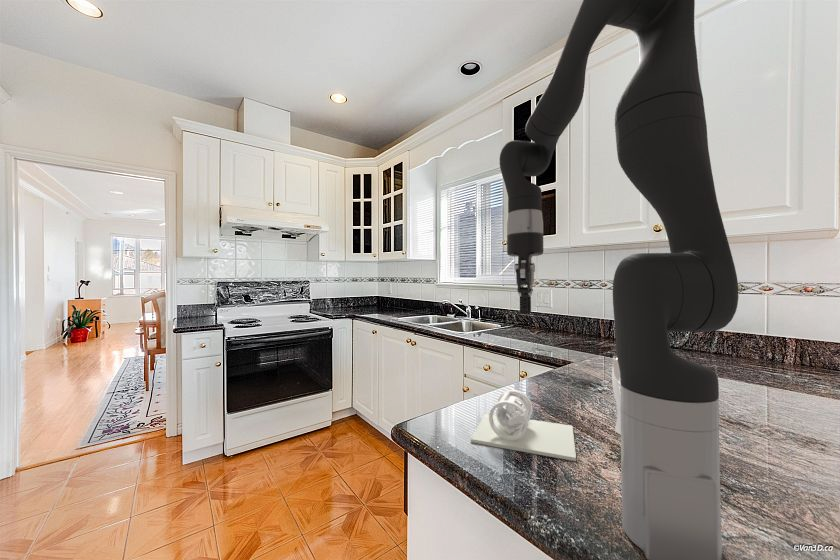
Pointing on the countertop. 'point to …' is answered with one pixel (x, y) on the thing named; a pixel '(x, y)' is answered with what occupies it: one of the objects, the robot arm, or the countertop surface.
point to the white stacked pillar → (512, 414)
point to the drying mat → (530, 438)
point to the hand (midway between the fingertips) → (525, 313)
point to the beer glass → (617, 392)
